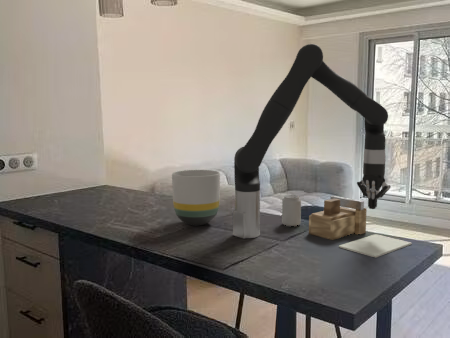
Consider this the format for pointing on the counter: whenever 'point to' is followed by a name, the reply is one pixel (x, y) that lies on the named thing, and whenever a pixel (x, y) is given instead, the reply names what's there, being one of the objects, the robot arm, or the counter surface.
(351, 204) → the bolt
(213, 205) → the planter
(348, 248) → the mat
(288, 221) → the can
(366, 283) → the counter surface
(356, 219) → the toolbox
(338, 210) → the lid
